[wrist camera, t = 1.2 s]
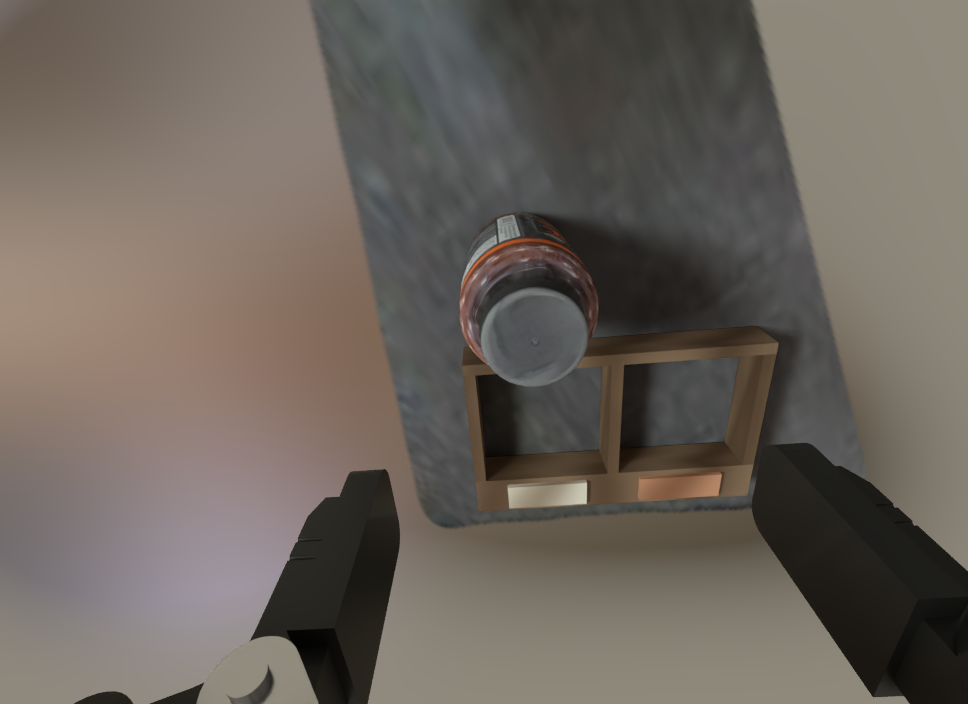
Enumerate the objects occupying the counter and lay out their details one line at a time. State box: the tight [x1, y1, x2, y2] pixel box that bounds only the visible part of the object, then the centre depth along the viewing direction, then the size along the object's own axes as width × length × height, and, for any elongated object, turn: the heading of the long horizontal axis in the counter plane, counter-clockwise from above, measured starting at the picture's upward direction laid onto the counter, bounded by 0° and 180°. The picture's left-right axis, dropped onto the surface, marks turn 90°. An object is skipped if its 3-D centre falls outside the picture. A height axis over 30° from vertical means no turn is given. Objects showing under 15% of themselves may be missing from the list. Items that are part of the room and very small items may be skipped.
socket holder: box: [462, 326, 779, 512], centre depth 30 cm, size 18×11×3 cm, turn 95°
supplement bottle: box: [459, 213, 599, 387], centre depth 22 cm, size 6×6×11 cm
